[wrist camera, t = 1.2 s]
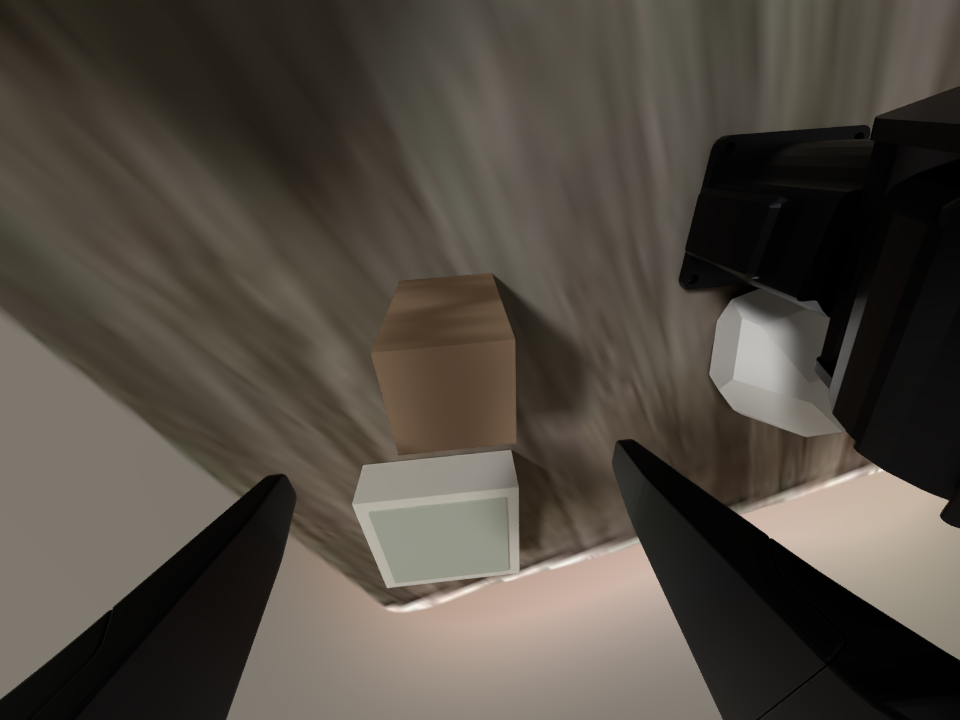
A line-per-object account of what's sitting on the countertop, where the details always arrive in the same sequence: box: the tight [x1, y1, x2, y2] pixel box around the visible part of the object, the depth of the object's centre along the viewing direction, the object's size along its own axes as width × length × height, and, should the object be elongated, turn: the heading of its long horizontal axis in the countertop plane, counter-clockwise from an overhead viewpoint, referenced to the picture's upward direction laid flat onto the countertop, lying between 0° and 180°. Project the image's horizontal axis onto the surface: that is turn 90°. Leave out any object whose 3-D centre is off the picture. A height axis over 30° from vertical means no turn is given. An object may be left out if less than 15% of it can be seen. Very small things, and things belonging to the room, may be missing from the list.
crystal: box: [709, 289, 846, 437], centre depth 17 cm, size 7×7×24 cm
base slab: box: [352, 450, 519, 588], centre depth 24 cm, size 10×10×3 cm
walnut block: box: [371, 273, 516, 455], centre depth 15 cm, size 4×4×7 cm
